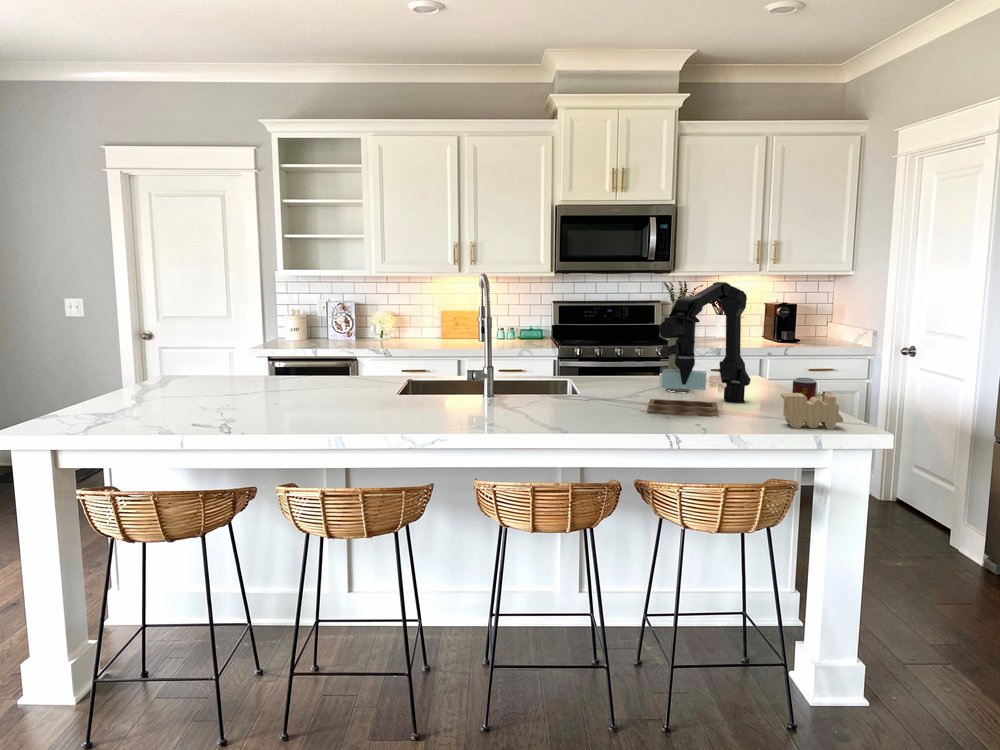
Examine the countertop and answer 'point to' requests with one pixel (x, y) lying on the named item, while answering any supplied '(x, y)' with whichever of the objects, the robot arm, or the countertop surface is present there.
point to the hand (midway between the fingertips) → (683, 383)
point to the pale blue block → (674, 381)
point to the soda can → (805, 387)
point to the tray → (683, 407)
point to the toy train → (811, 411)
